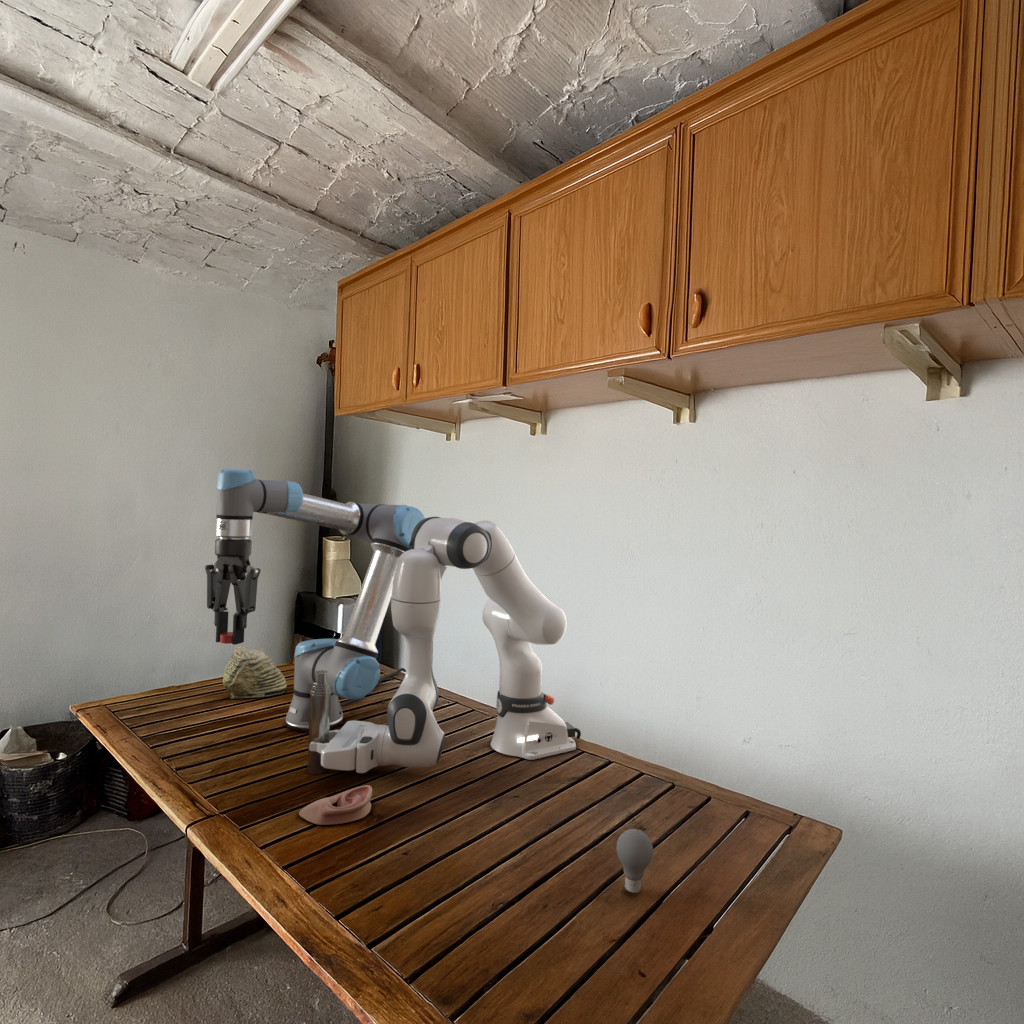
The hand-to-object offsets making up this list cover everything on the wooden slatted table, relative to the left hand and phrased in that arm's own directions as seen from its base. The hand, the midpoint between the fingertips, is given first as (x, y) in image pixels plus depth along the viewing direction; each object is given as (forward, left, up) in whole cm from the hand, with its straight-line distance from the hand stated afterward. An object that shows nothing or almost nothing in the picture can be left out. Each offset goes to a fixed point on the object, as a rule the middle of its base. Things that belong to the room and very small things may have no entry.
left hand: (229, 641), depth 142 cm
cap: (0, 0, +2) cm, 2 cm away
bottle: (-15, +13, -30) cm, 36 cm away
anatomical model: (-6, +32, -30) cm, 44 cm away
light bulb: (-24, +89, -30) cm, 97 cm away
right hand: (-15, +12, -23) cm, 30 cm away
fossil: (-33, -47, -30) cm, 65 cm away
